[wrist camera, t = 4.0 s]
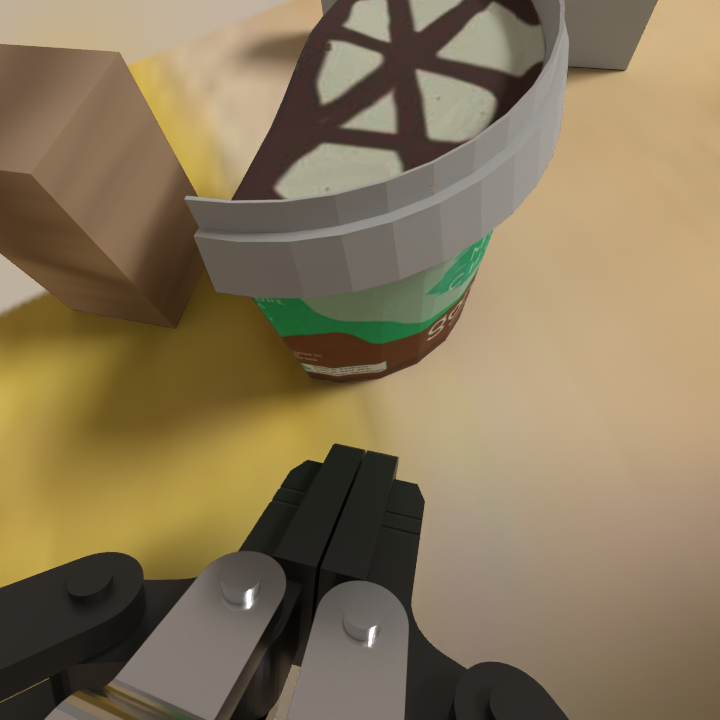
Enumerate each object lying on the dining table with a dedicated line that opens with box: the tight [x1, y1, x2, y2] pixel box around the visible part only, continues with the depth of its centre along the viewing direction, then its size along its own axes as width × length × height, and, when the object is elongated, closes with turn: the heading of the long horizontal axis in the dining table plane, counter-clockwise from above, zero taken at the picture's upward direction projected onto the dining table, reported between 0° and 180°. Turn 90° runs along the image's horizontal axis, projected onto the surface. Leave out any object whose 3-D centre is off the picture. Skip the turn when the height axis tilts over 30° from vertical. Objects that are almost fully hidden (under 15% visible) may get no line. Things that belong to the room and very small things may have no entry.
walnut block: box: [0, 44, 205, 329], centre depth 16 cm, size 5×5×8 cm
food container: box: [184, 0, 569, 382], centre depth 14 cm, size 12×6×10 cm, turn 163°
